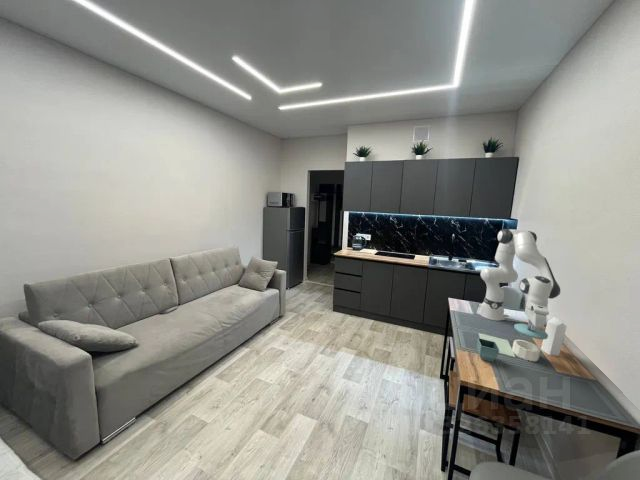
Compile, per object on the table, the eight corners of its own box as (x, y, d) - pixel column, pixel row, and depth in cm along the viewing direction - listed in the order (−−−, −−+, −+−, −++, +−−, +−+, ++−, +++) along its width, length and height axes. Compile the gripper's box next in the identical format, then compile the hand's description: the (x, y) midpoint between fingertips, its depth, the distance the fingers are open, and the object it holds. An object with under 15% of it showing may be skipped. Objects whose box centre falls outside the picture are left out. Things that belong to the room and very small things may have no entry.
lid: (511, 323, 157) (513, 315, 156) (542, 330, 151) (544, 321, 150) (517, 334, 144) (519, 325, 143) (551, 342, 138) (554, 333, 137)
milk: (549, 349, 158) (558, 316, 154) (559, 355, 152) (568, 321, 148) (540, 349, 157) (548, 315, 154) (549, 355, 151) (558, 320, 148)
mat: (478, 333, 171) (478, 333, 171) (507, 341, 164) (507, 340, 164) (482, 349, 153) (483, 348, 153) (515, 357, 146) (515, 357, 146)
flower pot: (496, 365, 138) (499, 350, 137) (478, 360, 141) (481, 345, 140) (492, 356, 146) (495, 341, 145) (474, 351, 149) (477, 337, 148)
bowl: (510, 346, 158) (512, 337, 157) (534, 352, 153) (536, 343, 152) (515, 357, 147) (517, 347, 146) (541, 364, 142) (543, 354, 141)
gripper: (524, 298, 155) (519, 319, 158) (535, 310, 137) (529, 334, 139) (537, 300, 153) (532, 322, 155) (550, 313, 134) (544, 337, 137)
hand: (531, 328), depth 147 cm, fingers closed on lid, 3 cm apart
